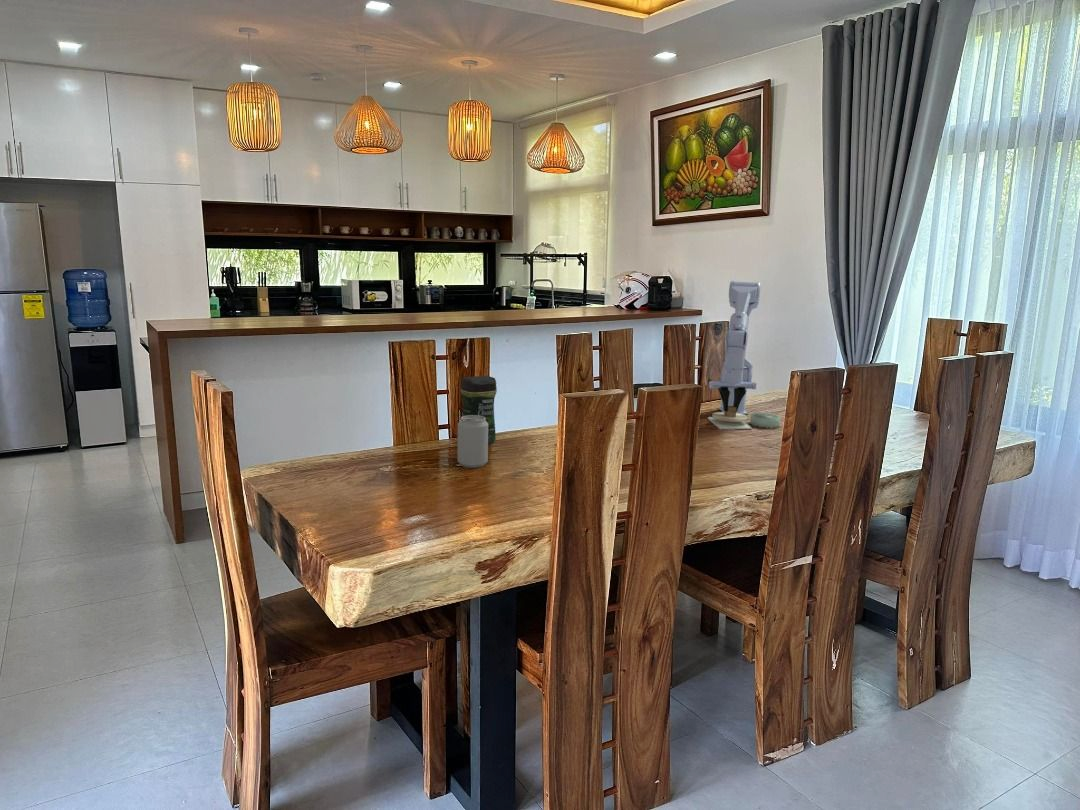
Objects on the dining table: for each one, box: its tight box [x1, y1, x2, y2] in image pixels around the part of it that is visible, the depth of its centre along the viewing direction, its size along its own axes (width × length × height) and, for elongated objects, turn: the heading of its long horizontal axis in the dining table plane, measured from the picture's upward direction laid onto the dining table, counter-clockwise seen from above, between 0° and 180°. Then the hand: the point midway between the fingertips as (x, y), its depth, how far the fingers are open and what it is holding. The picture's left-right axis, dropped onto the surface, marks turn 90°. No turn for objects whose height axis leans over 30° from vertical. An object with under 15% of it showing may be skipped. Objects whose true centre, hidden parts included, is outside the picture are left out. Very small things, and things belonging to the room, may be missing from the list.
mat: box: [707, 416, 753, 430], centre depth 232 cm, size 14×10×1 cm
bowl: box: [749, 412, 781, 428], centre depth 233 cm, size 9×9×3 cm
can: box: [457, 415, 489, 469], centre depth 181 cm, size 8×8×12 cm
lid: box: [711, 405, 749, 422], centre depth 232 cm, size 11×11×4 cm
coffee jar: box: [460, 375, 498, 445], centre depth 200 cm, size 10×8×19 cm
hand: (730, 410), depth 232 cm, fingers closed on lid, 2 cm apart
